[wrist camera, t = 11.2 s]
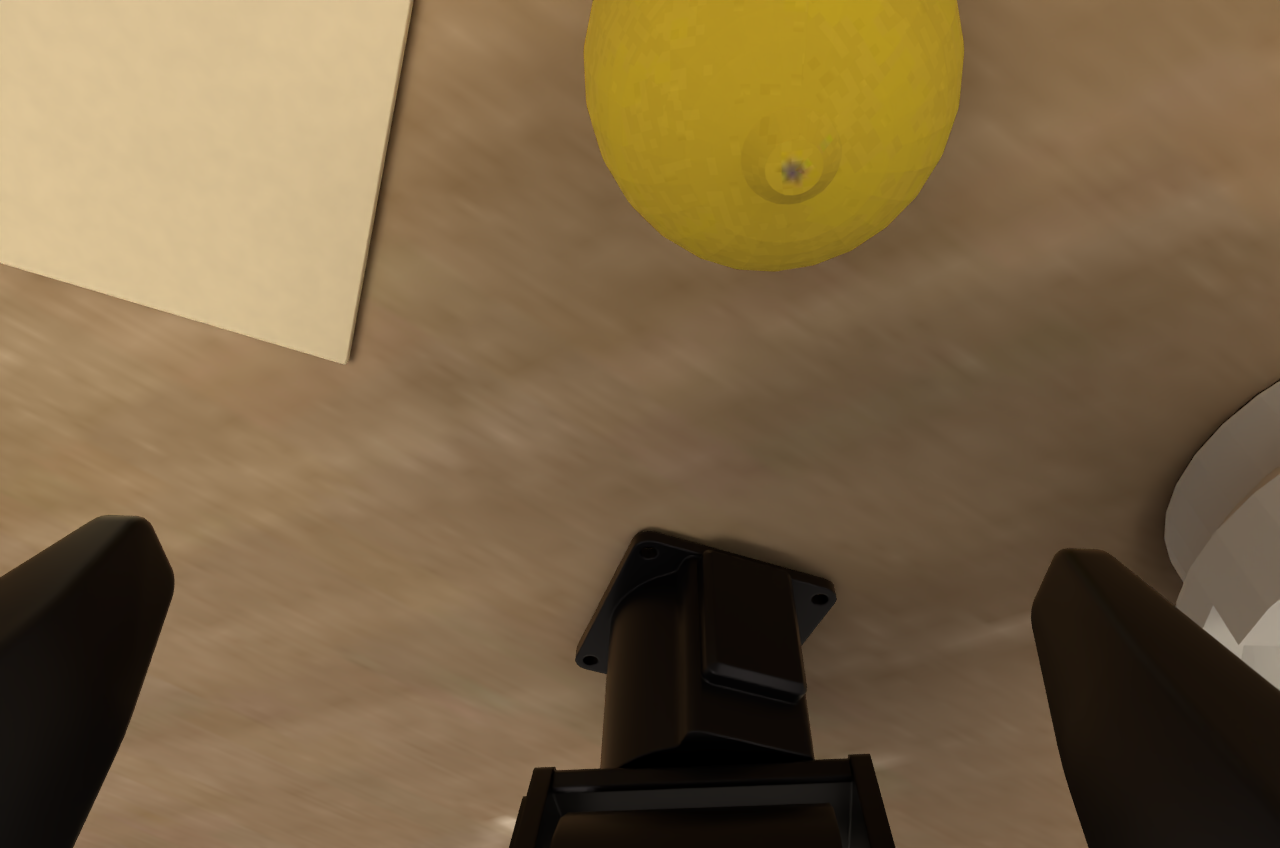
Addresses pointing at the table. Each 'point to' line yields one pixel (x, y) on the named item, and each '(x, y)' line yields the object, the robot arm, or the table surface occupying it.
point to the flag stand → (1233, 535)
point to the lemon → (772, 118)
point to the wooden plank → (201, 154)
